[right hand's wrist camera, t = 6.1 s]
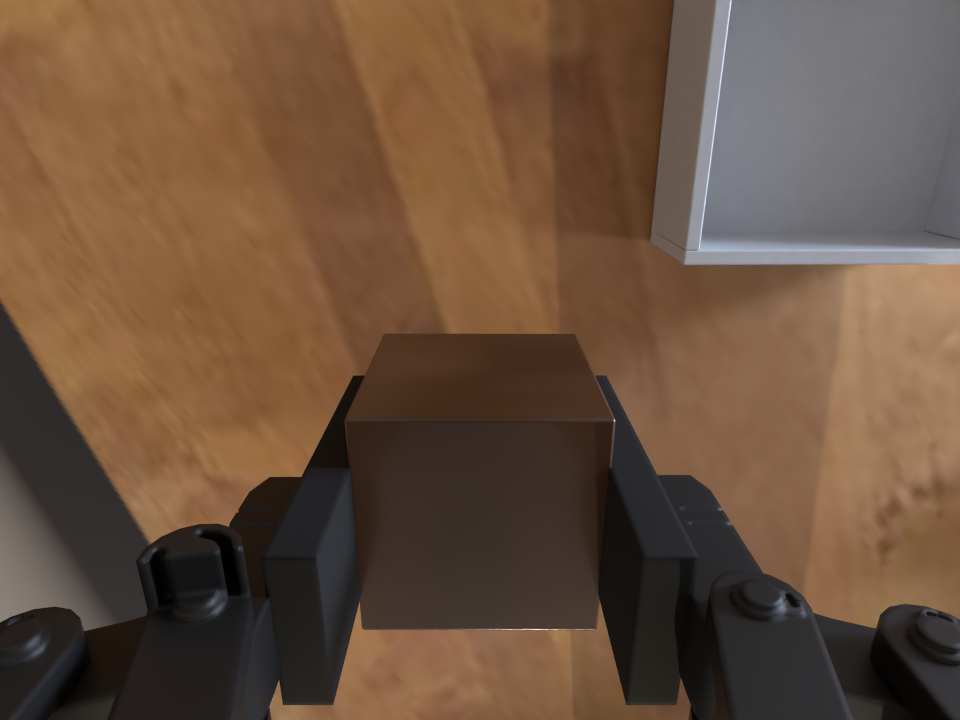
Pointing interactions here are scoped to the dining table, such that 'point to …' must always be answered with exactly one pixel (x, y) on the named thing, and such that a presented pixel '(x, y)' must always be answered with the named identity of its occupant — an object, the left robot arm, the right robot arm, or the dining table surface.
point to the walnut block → (479, 483)
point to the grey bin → (811, 133)
